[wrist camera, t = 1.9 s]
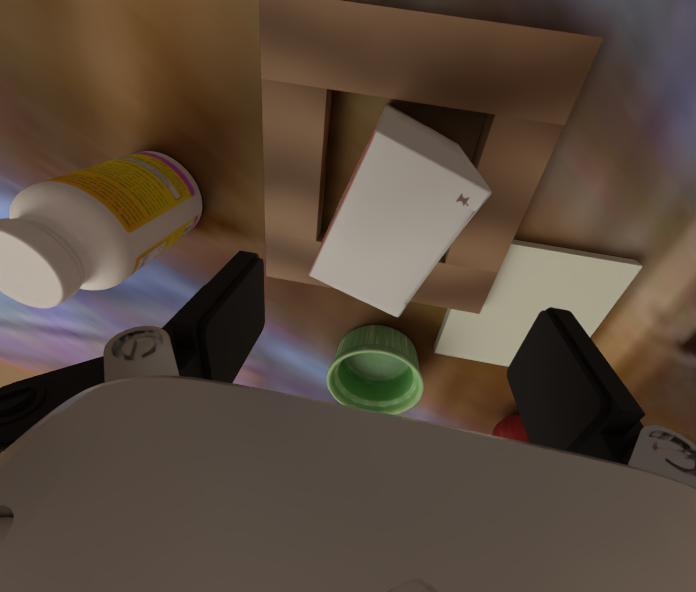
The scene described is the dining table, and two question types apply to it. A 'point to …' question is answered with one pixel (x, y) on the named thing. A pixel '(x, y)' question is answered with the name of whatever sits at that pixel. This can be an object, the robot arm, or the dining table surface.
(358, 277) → the small box
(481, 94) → the holder block
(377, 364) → the ramekin
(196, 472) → the robot arm
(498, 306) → the cream square tile
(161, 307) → the dining table surface
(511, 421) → the onion
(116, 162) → the supplement bottle
